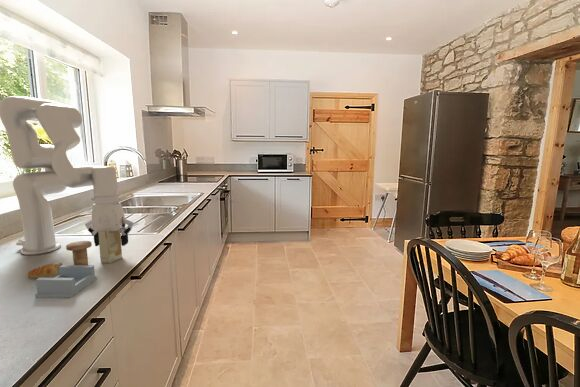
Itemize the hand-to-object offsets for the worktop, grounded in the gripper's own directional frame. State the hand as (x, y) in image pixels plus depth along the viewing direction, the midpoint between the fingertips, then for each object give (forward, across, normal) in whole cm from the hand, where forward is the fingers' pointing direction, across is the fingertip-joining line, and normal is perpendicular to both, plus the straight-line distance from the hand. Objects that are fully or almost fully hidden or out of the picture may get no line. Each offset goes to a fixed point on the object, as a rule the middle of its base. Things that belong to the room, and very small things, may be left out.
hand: (111, 244), depth 112 cm
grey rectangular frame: (+6, -2, -22) cm, 23 cm away
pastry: (+6, -14, -13) cm, 20 cm away
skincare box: (+6, -1, 0) cm, 6 cm away
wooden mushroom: (+6, -5, -11) cm, 13 cm away
